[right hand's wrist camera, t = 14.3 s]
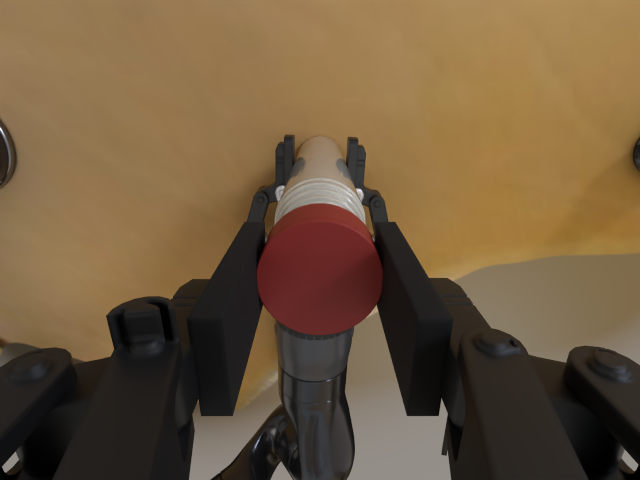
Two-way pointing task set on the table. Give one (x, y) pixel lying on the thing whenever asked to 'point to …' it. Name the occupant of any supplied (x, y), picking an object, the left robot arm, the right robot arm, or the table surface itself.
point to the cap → (319, 270)
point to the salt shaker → (637, 155)
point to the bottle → (320, 180)
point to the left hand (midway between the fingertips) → (321, 137)
